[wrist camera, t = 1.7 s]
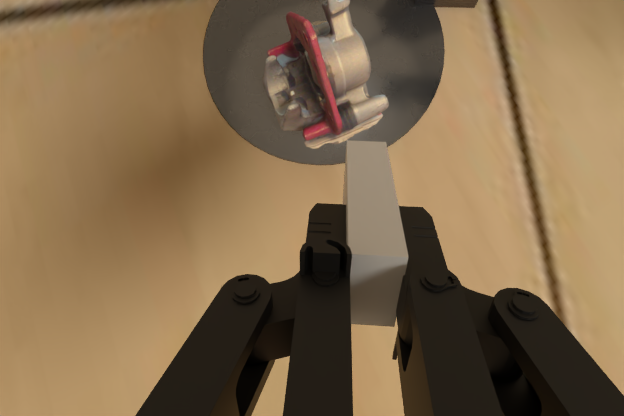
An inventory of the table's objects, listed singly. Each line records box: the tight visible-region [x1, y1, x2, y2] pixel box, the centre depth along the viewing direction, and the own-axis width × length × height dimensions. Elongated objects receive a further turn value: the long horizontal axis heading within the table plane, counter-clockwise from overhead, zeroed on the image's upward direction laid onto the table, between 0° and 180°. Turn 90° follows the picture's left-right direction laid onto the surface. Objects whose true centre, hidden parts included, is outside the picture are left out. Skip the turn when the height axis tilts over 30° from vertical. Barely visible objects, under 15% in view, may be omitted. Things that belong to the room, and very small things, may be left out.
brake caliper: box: [262, 0, 389, 149], centre depth 35 cm, size 11×11×12 cm
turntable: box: [203, 0, 444, 165], centre depth 40 cm, size 24×24×1 cm
